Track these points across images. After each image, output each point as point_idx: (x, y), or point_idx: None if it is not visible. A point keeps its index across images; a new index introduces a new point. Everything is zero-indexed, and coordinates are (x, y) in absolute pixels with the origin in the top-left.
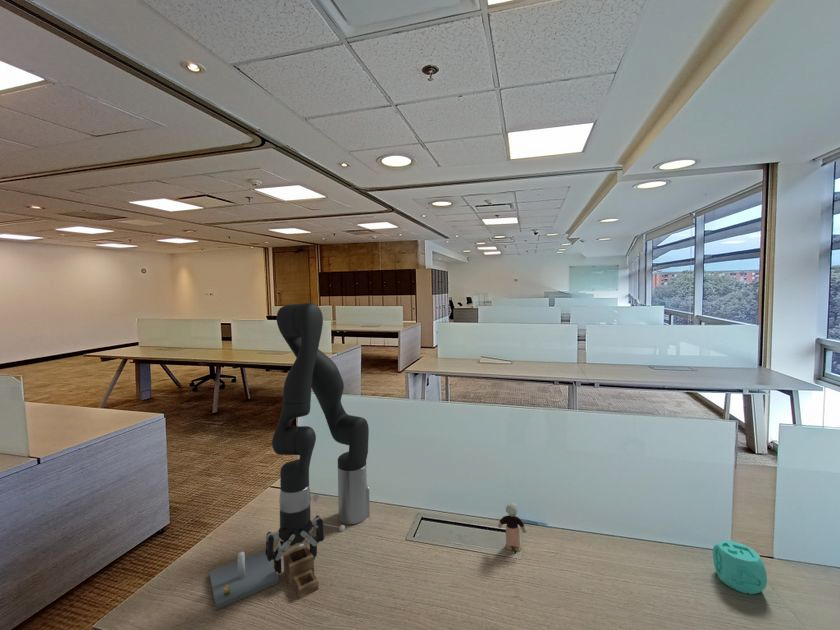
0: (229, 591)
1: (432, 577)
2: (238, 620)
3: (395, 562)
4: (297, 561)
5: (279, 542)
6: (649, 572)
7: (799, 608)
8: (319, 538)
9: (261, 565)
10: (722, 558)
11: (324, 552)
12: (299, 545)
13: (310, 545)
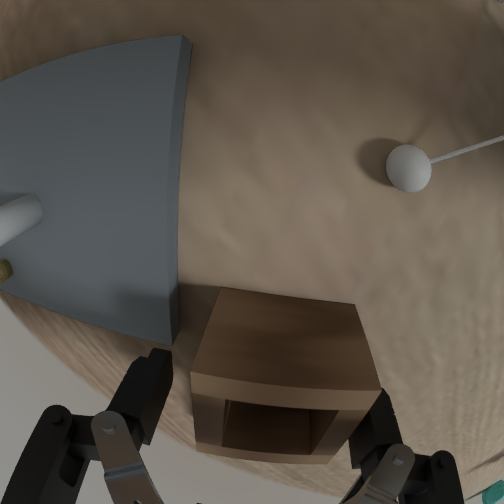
0: (6, 279)
1: None
2: (60, 357)
3: (471, 430)
4: (243, 453)
5: (114, 495)
6: (495, 478)
7: (475, 497)
8: (399, 497)
9: (109, 184)
10: (493, 500)
11: (453, 297)
12: (407, 168)
13: (365, 451)
